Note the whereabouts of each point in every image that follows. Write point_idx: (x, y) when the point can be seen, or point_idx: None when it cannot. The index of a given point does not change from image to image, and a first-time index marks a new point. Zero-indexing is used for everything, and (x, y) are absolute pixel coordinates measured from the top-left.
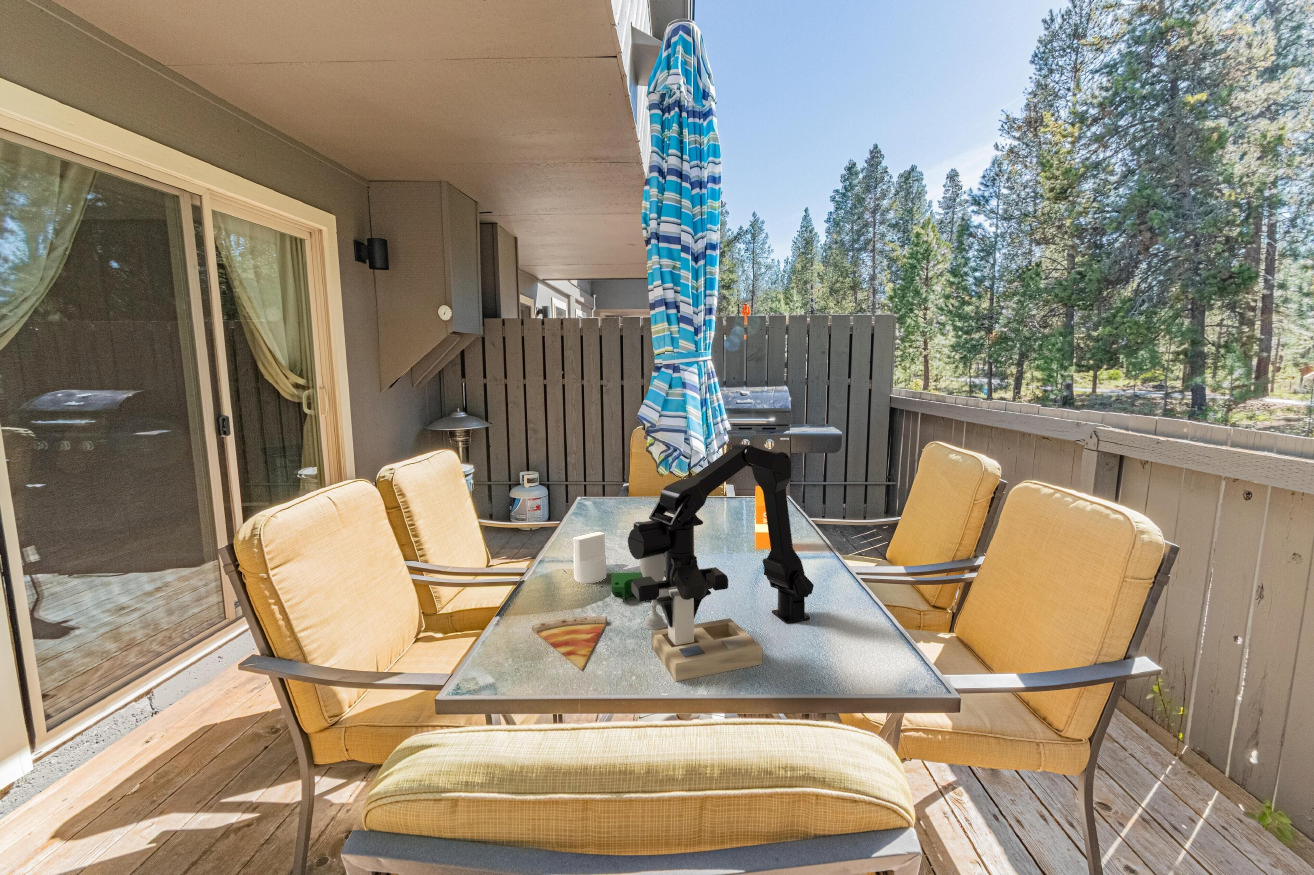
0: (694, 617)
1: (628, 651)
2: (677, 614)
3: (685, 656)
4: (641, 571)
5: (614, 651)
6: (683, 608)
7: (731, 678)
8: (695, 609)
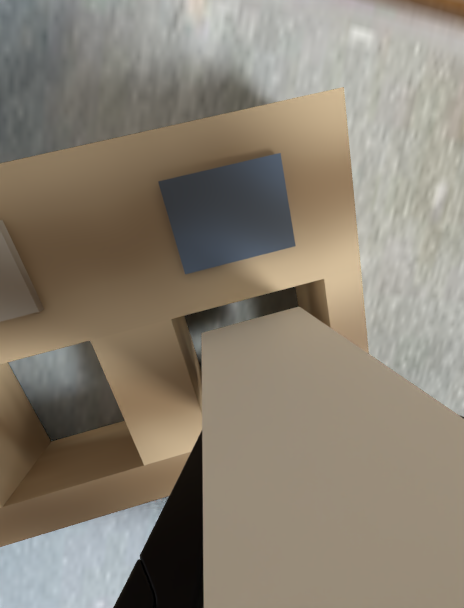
0: (188, 462)
1: (411, 370)
2: (419, 420)
3: (277, 153)
4: None
5: (451, 372)
6: (390, 516)
7: (55, 116)
8: (171, 544)
